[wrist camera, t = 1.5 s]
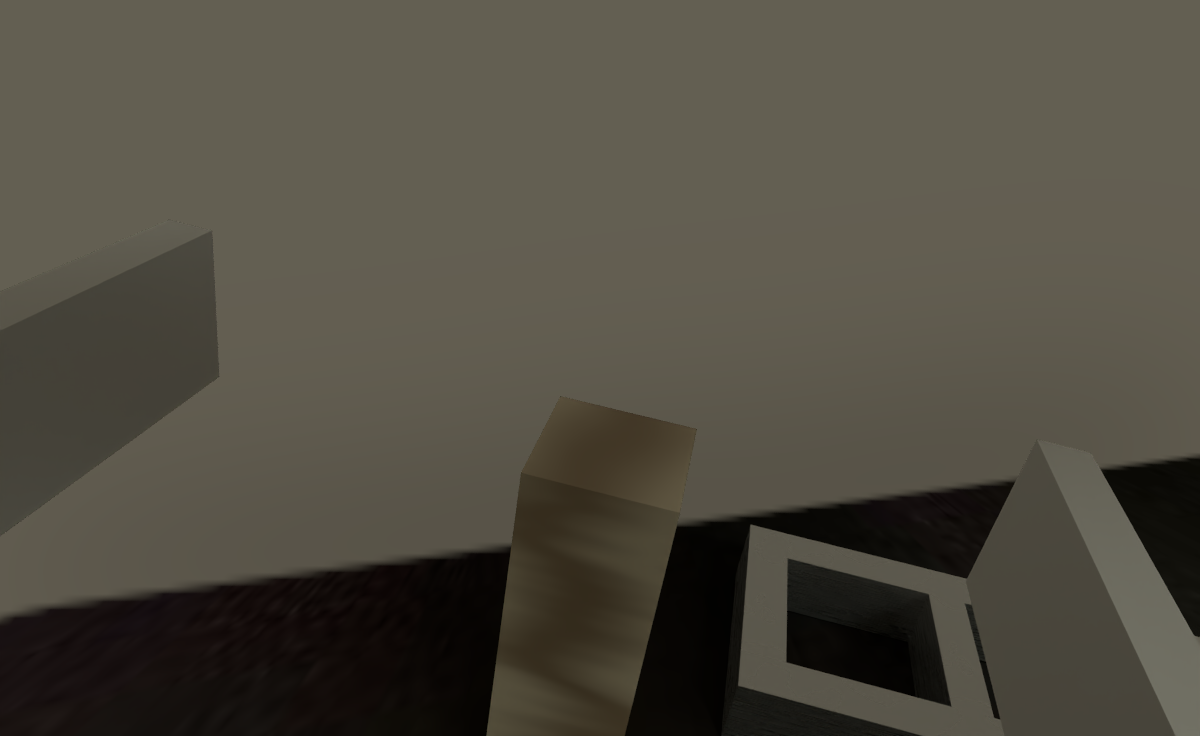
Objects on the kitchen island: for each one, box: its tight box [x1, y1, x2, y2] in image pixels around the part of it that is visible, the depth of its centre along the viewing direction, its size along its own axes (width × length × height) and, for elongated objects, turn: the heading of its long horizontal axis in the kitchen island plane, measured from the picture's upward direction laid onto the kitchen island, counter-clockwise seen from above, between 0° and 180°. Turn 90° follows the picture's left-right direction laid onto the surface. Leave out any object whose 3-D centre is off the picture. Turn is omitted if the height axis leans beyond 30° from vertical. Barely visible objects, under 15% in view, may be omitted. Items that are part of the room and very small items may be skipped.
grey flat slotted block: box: [721, 525, 1200, 736], centre depth 36 cm, size 26×10×3 cm, turn 78°
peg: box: [486, 396, 697, 736], centre depth 28 cm, size 4×4×14 cm
